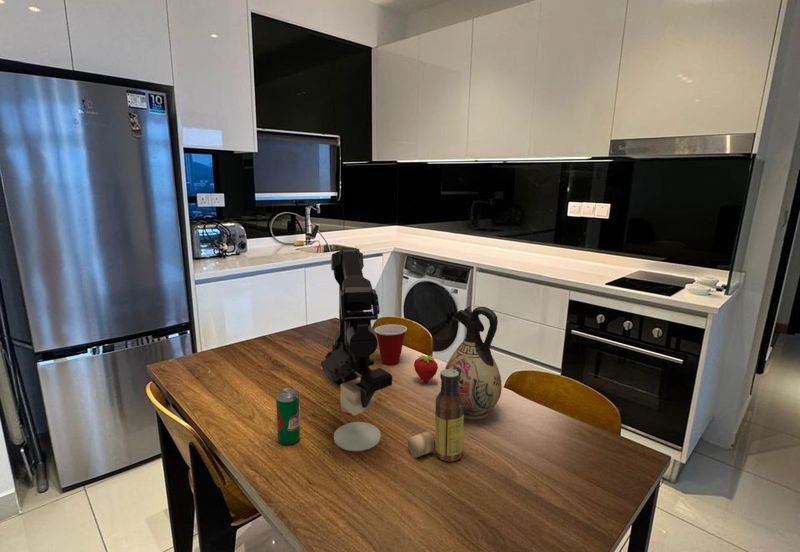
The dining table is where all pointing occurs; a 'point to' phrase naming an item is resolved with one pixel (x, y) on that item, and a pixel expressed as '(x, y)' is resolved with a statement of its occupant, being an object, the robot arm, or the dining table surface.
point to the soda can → (288, 416)
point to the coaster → (357, 436)
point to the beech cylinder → (421, 444)
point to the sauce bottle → (449, 418)
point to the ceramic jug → (476, 364)
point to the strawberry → (425, 367)
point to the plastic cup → (390, 342)
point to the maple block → (353, 398)
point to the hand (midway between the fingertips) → (357, 401)
